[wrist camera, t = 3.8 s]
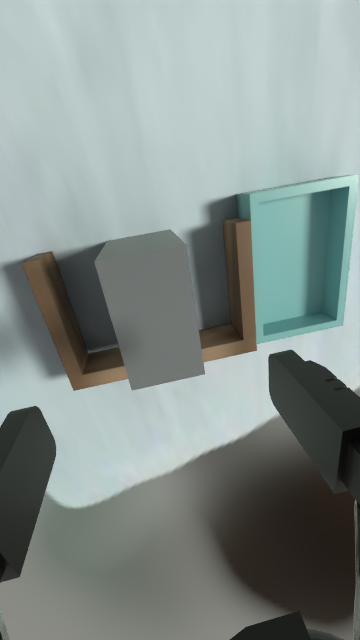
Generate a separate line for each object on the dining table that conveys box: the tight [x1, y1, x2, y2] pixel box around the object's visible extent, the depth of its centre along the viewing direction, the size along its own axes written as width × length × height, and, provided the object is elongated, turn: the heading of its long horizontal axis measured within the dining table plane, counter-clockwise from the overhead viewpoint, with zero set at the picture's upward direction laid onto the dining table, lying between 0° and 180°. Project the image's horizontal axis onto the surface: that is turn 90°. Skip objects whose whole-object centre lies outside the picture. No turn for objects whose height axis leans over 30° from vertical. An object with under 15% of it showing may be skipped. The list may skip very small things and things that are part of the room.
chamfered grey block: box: [94, 230, 205, 390], centre depth 18 cm, size 5×8×7 cm, turn 9°
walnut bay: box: [22, 218, 257, 391], centre depth 21 cm, size 14×10×3 cm
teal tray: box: [237, 174, 359, 344], centre depth 21 cm, size 7×11×2 cm
